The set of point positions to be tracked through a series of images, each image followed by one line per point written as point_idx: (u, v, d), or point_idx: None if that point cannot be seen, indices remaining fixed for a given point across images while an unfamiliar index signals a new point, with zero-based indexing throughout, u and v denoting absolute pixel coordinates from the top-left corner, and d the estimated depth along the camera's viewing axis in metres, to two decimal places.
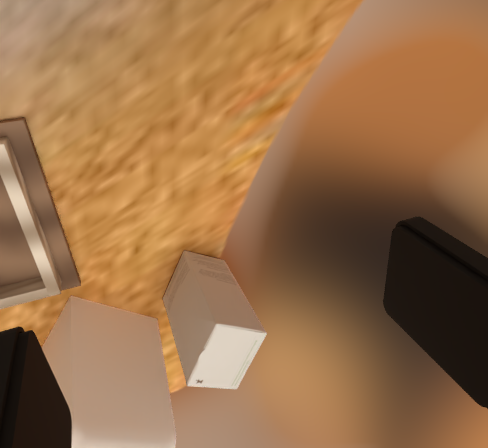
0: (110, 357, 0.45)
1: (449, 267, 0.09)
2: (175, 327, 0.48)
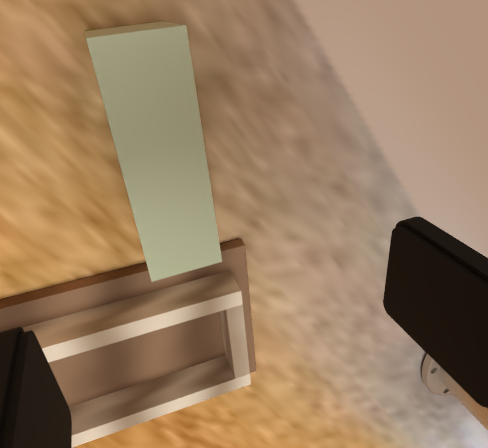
0: None
1: (449, 267, 0.09)
2: None
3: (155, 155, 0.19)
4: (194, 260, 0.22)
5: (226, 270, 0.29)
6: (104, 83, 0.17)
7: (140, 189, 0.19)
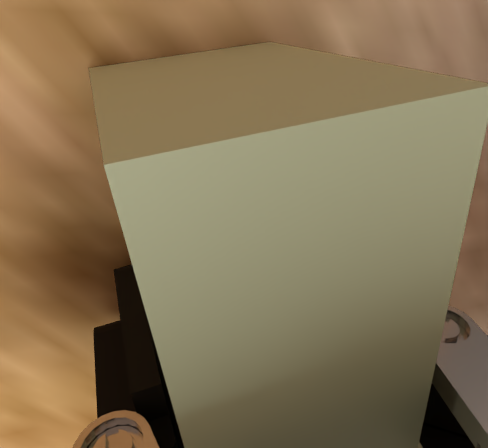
0: None
1: None
2: None
3: None
4: None
5: None
6: (171, 316, 0.04)
7: None
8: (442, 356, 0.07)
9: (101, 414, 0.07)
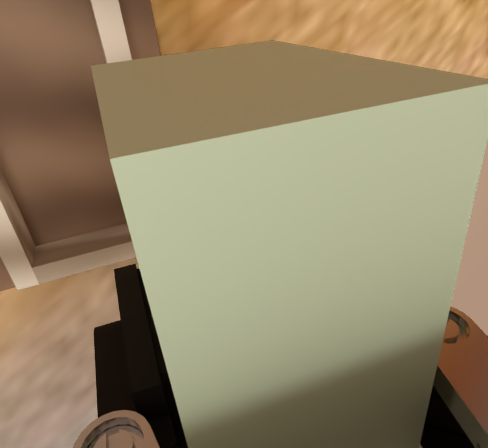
0: None
1: None
2: None
3: None
4: None
5: None
6: (176, 311, 0.04)
7: None
8: (442, 356, 0.07)
9: (101, 414, 0.07)
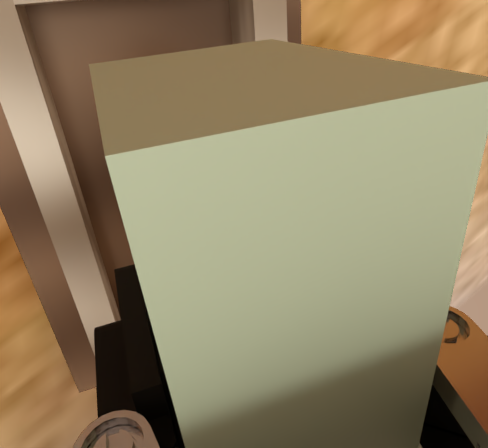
0: None
1: None
2: None
3: None
4: None
5: None
6: (173, 311, 0.04)
7: None
8: (442, 356, 0.07)
9: (101, 414, 0.07)
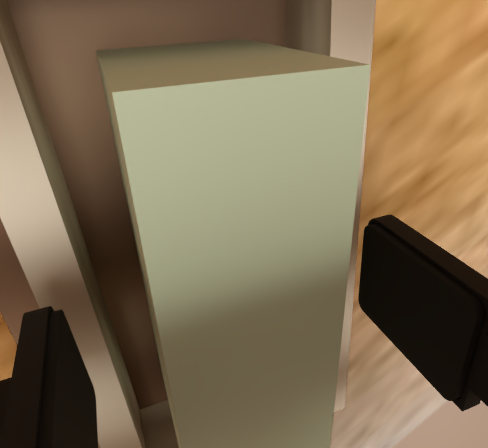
0: None
1: (415, 264, 0.09)
2: None
3: (245, 342, 0.08)
4: None
5: None
6: (150, 205, 0.06)
7: (203, 405, 0.09)
8: None
9: None
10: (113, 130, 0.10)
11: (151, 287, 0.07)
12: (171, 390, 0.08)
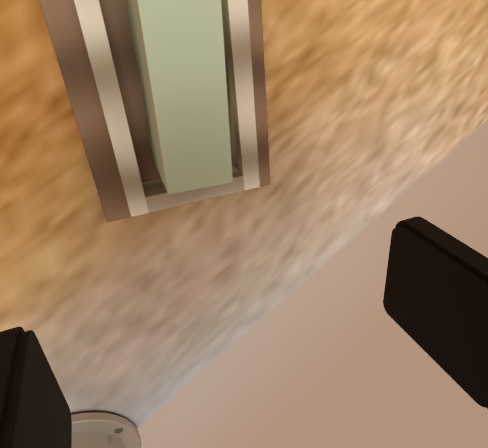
0: None
1: (449, 267, 0.09)
2: None
3: (181, 69, 0.21)
4: (208, 177, 0.24)
5: None
6: None
7: (165, 101, 0.21)
8: None
9: None
10: None
11: (142, 29, 0.19)
12: (151, 87, 0.21)
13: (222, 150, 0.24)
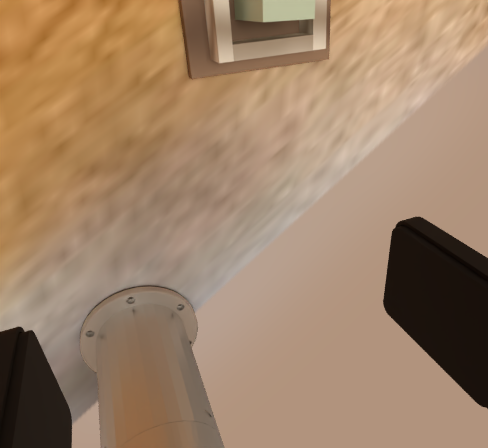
0: None
1: (449, 267, 0.09)
2: None
3: None
4: (295, 10, 0.28)
5: None
6: None
7: None
8: None
9: None
10: None
11: None
12: None
13: None
